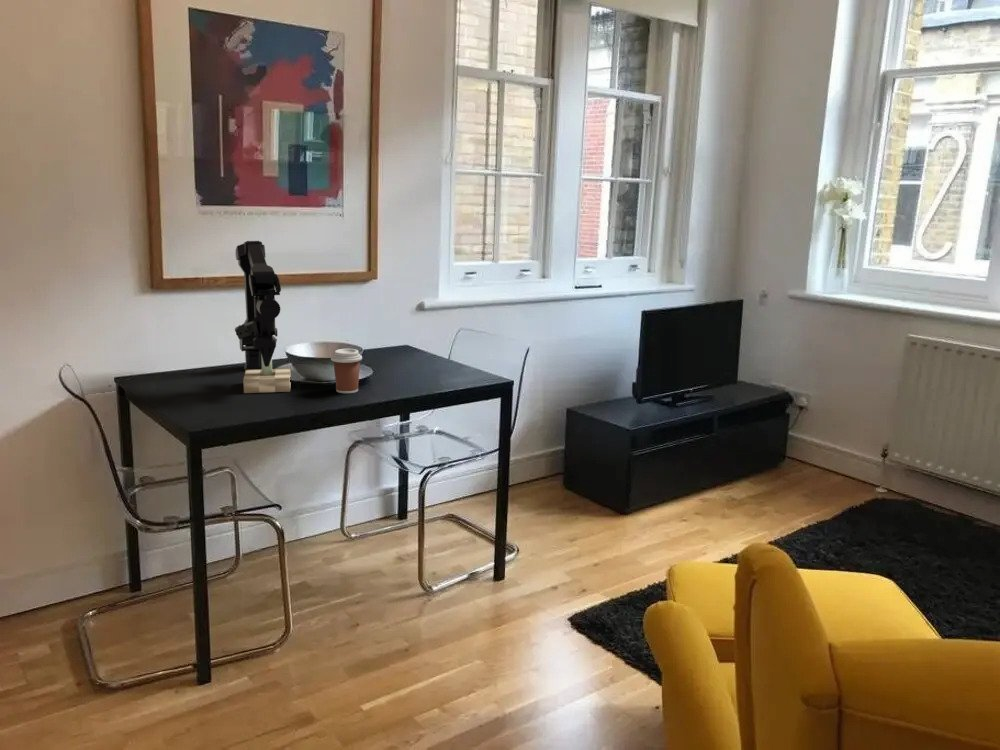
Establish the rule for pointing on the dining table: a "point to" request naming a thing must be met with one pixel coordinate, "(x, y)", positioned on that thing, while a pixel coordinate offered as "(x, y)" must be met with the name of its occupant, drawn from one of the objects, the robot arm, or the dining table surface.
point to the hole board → (267, 381)
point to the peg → (266, 368)
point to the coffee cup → (346, 370)
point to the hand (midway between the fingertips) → (266, 365)
